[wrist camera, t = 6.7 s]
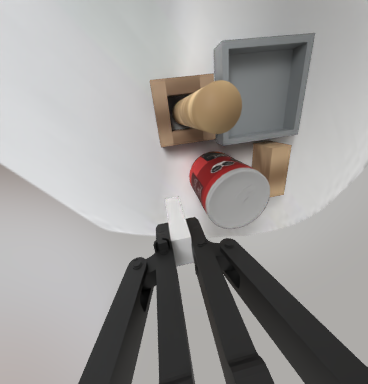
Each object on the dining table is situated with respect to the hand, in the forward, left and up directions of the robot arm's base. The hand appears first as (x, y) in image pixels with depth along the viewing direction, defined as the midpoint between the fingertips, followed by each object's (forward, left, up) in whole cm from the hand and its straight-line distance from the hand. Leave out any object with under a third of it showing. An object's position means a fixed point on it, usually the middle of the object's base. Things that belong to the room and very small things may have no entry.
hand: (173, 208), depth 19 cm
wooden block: (+1, +17, -11) cm, 20 cm away
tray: (-10, +15, -11) cm, 21 cm away
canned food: (+1, +8, -11) cm, 13 cm away
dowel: (-9, +4, -11) cm, 15 cm away
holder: (-9, +4, -11) cm, 15 cm away
